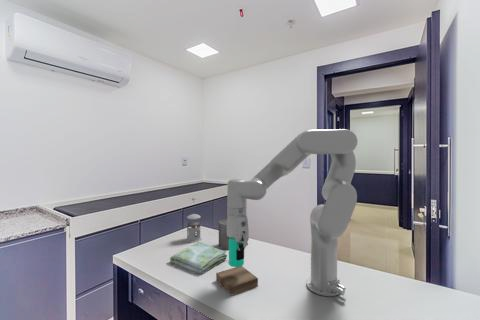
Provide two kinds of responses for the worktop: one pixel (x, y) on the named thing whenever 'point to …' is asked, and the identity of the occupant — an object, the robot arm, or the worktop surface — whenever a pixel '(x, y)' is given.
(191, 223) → the french press
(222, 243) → the pillar candle
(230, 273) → the walnut base
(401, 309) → the worktop surface
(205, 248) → the towel
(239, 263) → the candle
